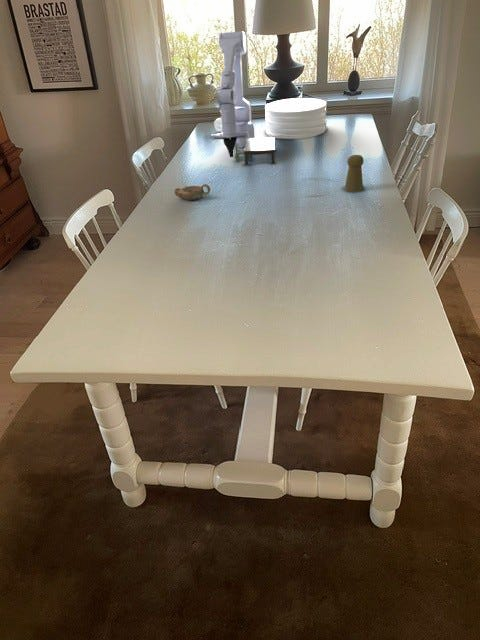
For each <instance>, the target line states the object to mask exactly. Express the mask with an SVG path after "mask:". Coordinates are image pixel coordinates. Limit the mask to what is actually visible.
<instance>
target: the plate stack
mask: <svg viewBox="0 0 480 640" xmlns="http://www.w3.org/2000/svg"><path fill="white" fill-rule="evenodd" d="M327 107H328V106H327V101H326V100H324V99H320V98H313V97H312V98H311V97H297V98H296V97H295V98H294V97H293V98H285V99H280V100H275V101H271V102H269V103H267V104H266V105H264V111H265V112H264V114H265V134H266V135H267V136H269V137H275V139H281V140H282V139H283V140H298V139H307V138H312V137H317V136H319V135H322V134H324V133H325V132H326V130H327Z"/></svg>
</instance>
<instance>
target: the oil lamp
mask: <svg viewBox="0 0 480 640" xmlns="http://www.w3.org/2000/svg"><path fill="white" fill-rule="evenodd" d="M204 188H206V189H207V191H204ZM173 192H174V195H175V196H176V197H178V198H181V199H184V200H187V201H196V200H198V199H200V198H202V196H203V195H205V196H206V195H208V194H210V192H211V187H210V185H209V184H207V183H204V184H202V185H201V186H200V185H189V186H187V185H186V186H184V187H177V188H175V189H174V190H173Z"/></svg>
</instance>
